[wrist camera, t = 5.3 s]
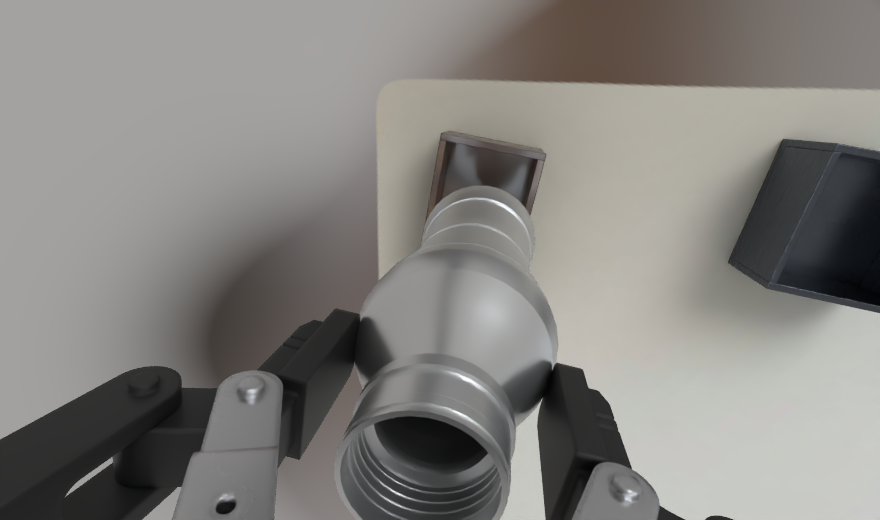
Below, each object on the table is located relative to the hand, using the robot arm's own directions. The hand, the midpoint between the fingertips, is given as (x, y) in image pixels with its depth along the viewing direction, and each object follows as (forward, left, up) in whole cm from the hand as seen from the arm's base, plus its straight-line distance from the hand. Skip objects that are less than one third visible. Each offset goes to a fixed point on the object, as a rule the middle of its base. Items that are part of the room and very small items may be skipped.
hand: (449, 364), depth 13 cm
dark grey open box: (-4, +31, -33) cm, 45 cm away
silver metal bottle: (0, 0, -16) cm, 16 cm away
